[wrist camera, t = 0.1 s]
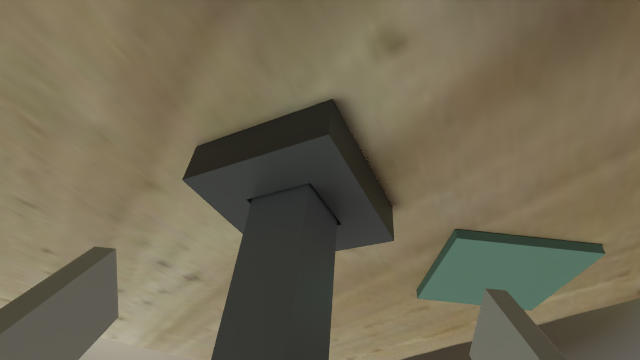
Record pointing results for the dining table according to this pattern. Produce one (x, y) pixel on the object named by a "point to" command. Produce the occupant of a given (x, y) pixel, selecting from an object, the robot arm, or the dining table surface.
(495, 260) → the mat
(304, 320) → the plug
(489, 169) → the dining table surface
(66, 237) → the dining table surface
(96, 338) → the robot arm
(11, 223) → the dining table surface
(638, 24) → the dining table surface
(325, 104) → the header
